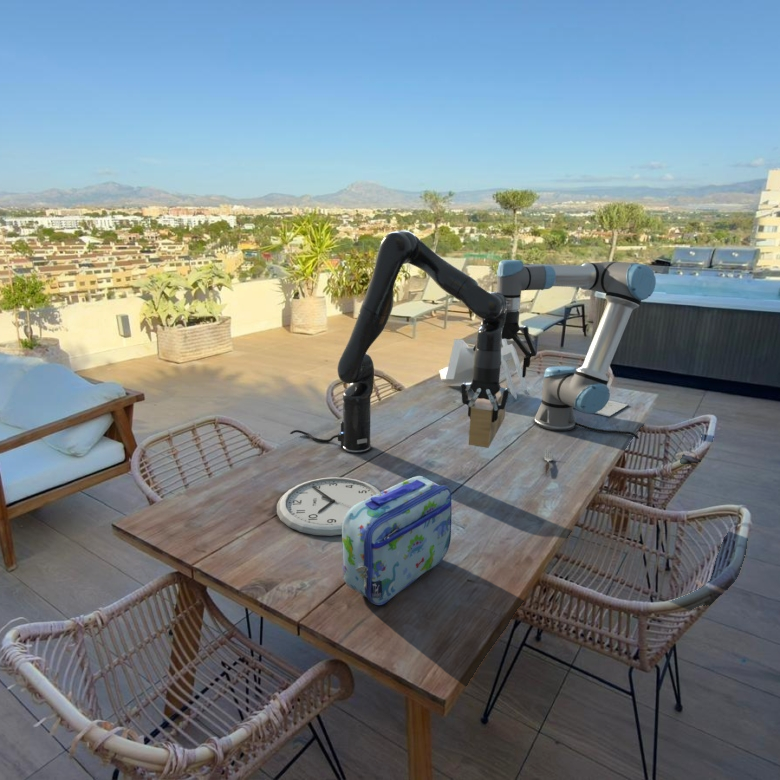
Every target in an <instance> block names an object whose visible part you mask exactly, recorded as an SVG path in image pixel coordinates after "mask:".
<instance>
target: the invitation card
mask: <svg viewBox="0 0 780 780" xmlns="http://www.w3.org/2000/svg"><path fill="white" fill-rule="evenodd" d="M628 406H629V404H627V403H623V402H618V401H614V400H610V399H609V400H608V402H607V404H606V405H605V407H604V408H603V409H601V410H600V411H598V412H596V413H595V414H596V415H600V416H604V417H608V418H609V417H611V416H613V415H614V414H616V413H617V412H619V411H621V410H623V409H624V408H626V407H628Z"/></svg>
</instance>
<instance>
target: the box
mask: <svg viewBox="0 0 780 780" xmlns="http://www.w3.org/2000/svg"><path fill="white" fill-rule="evenodd" d="M499 385H500V387H502V388H508V384H499ZM496 397H497V401H498V404H501V401H502V398H503V396H502V395H501V392H500V391H498V393H497V394H496ZM492 414H493V406H492V404H491V402H490V400H487V399H484V398H483V399H479V398H477V399H476V401H475V403H474V405H473V406H472V407H471V417H469V431H468V432H469V433H468V445H469V446H473V447H478V448H479V447H480V448H485V449H489V448H490V446H491V444H492V442H493V441H494V439H495V436H496V435H497V433H498V431H499V429H500V427H501V425H502V424H503V422H504V420H505V417H506V407H505V408H504V409H503V410H502V409H500V410H499V411H498V419H497V420H496V421H495V422H492Z"/></svg>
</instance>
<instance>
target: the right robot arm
mask: <svg viewBox="0 0 780 780" xmlns="http://www.w3.org/2000/svg"><path fill="white" fill-rule="evenodd" d="M496 278H497V279H496V292H498V293H501V294H502V295H503V296H504V297H505V299H506V301H507V313H506V318H505V323H504V327H503V331H502V339H506V340H509V341H510V340H513V341H514V343H516V345H517V346H518V348H519V349H520V350H521V352H522V353H523V354H524V356H523V363H522V371H523V374H522V377H524V378H526V376H527V368H530V366H531V358H533V357H536V356H537V354H538V352H537V349H536V346H535V345H534V342H533V340H532V336H531V334H530V331H529V326H528V325H525V326H520V324H519V322H520V308H521V297H522V292H523V291H540V290H541V291H545V290H549V289H552V288H553V287H561V288H563V287H566V288H567V287H568V288H569V287H571V288H580V289H581V290H584V291H594V292H598V293H603V294H605V296H604V297H605V300H606V306H605V308H604V310H603V313H602V315H601V318H600V320H599V323H598V326H597V328H596V330H595V333H594V335H593V338H592V340H591V343H590V345H589V347H588V350H587V353H586V355H585V358H584V360H583V363H582V366H580V367H578V368H576V367H574V366H566V365H565V366H564V365H562V366H561V365H559V366H558V365H557V366H549V367H547V368H546V369H545V370H544V375H543V381H542V392H541V402H540V405H539V407H538V410H537V411H536V413H535V416H534V424H535V425H536V426H537V427H539V428H542V429H544V430H549V431H556V432H567V431H572V430H574V429H575V428H576V426H577V427H580V428H583V429H585V430H589V431H594V432H598V433H605V434H620V435H621V434H622V435H630V436H632V437H634V438H635V439H637V440H639V439H640V437H639V436H638V435H637V434H636V433H634V432H633V431H626V430H614V429H612V430H611V429H600V428H596V427H591V426H588V425H585V424H582V423H579V422H576V418H575V417H576V416H575V413H574V409H575V410H577V411H579V412H581V413H585V414H588V415H590V414H591V415H593V414H596V412H598V411H600V410H601V409H603V408H604V407H605V405H606V404H607V402H608V400H610V396H611V393H610V388H609V387H608V384H609V378H608V375H607V373H608V371H609V368H610V367H611V364H612V361H613V359H614V356H615V354H616V352H617V349H618V347H619V344H620V341H621V339H622V337H623V334H624V332H625V329H626V327H627V324H628V322H629V319H630V317H631V314H632V312H633V311H634V310H635V309H637V308H639V307H640V305H641V303H642V301H644V300H648V299H649V298H650V297H651V296H652V295H653V293H654V291H655V288H656V283H657V280H656V279H657V278H656V275H655V271H654V270H653V269H652V268H651V267H650V266H649V265H648V264H644V263H639V262H624V261H623V262H622V261H616V260H615V261H614V260H613V261H602V262H601V261H599V262H585V263H583V264H581V265H580V264H579V265H577V264H552V263H551V264H547V263H524V262H523V261H522V260H521V259H503V260H501V261H499V263H498V267H497V271H496ZM519 331H520V332H521V333H522V334H523V336H524V339H525V341H526V343H527V346H528V347H526V345H525V343H524V342H523V341H522V340H521V338H520V336H519V335H518V333H519ZM474 346H475V347H474ZM474 346H473V347H474V348H473V350H474V351H475V350H476V344H475V345H474ZM528 348H529V349H528Z"/></svg>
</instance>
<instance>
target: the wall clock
mask: <svg viewBox="0 0 780 780" xmlns="http://www.w3.org/2000/svg"><path fill="white" fill-rule="evenodd" d="M380 492H382V491H381V490H380V489H379V488H377V487H376V486H374V485H372V484H371V483H369V482H365V481H362V480H359V479H355V478H349V477H338V476H337V477H335V476H333V477H332V476H331V477H322V478H317V479H312V480H307V481H305V482H302V483H299V484H297V485H295V486H293V487H292V488H290V489H288V490H287V491H286V492H285V493H284V494H283V495H281V496H280V498H279V499H278V502H277V503H276V515H277V517H278V518H279V520H280V521H281V522H282V523H283V524H285V525H286V526H287V527H288V528H290V529H293V530H295V531H297V532H299V533H303V534H308V535H312V536H327V537H328V536H329V537H331V536H332V537H333V536H342V525H343V521H344V518H345V516H346V514H347V512H348V511H349V510H350V509H351V508H352V507H353V506H354V505H356V504H358V503H360V502H362V501H364V500H366V499H368V498H370V497H372V496H374V495H376V494H378V493H380Z"/></svg>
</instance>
